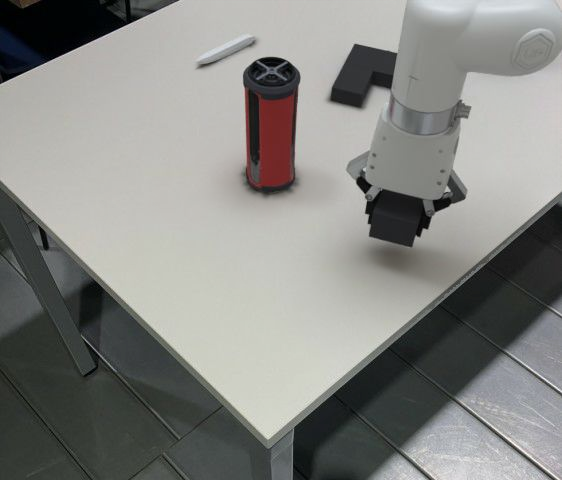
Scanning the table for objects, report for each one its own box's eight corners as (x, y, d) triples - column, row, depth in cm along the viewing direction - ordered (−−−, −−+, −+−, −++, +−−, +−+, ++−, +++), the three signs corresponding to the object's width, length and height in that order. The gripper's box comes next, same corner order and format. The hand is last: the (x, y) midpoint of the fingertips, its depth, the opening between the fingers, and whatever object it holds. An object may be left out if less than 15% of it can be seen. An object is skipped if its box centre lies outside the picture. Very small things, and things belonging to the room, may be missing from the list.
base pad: (448, 78, 112) (452, 65, 110) (431, 124, 105) (435, 111, 103) (352, 56, 114) (354, 43, 112) (330, 100, 108) (331, 87, 105)
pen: (193, 66, 112) (192, 58, 110) (252, 38, 117) (251, 29, 115) (198, 70, 111) (198, 62, 110) (257, 41, 116) (257, 33, 115)
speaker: (235, 176, 97) (230, 68, 82) (271, 154, 100) (272, 45, 85) (270, 202, 94) (271, 95, 79) (305, 178, 97) (313, 70, 82)
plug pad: (421, 217, 86) (428, 192, 82) (411, 248, 83) (418, 223, 79) (379, 207, 87) (384, 182, 83) (368, 236, 84) (372, 212, 80)
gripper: (505, 103, 69) (464, 220, 85) (357, 71, 72) (343, 190, 88) (494, 145, 66) (453, 259, 81) (338, 109, 69) (327, 226, 84)
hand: (396, 222), depth 84 cm, fingers closed on plug pad, 6 cm apart
